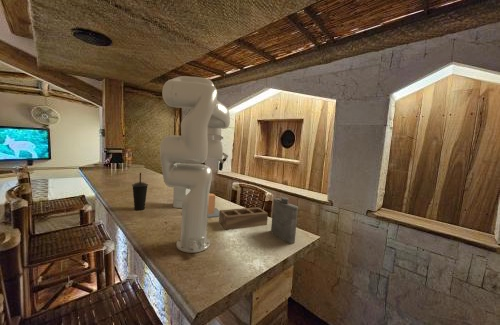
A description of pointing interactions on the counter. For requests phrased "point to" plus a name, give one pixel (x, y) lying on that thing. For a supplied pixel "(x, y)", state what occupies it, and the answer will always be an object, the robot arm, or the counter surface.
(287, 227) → the flask
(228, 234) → the counter surface
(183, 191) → the supplement box
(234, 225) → the wooden compartment box
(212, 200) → the peg
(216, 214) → the mat
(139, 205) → the drinking cup
